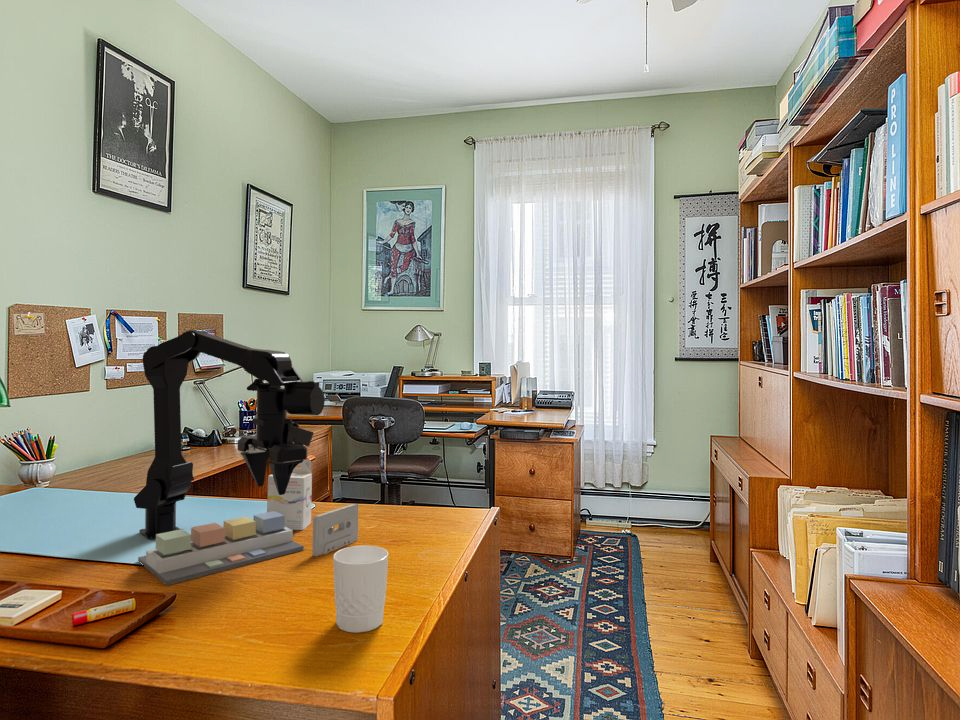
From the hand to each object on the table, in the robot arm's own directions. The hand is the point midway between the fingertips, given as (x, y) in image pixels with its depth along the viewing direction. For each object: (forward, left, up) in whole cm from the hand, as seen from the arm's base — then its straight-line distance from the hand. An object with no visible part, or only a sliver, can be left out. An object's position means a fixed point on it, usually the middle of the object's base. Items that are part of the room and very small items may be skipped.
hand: (270, 490), depth 117 cm
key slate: (0, 0, -8) cm, 8 cm away
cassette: (+10, +9, -11) cm, 18 cm away
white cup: (+40, -6, -11) cm, 42 cm away
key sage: (0, -18, -8) cm, 20 cm away
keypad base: (0, -9, -11) cm, 14 cm away
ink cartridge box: (-9, +9, -11) cm, 17 cm away
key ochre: (0, -6, -8) cm, 10 cm away
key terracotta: (0, -12, -8) cm, 14 cm away
